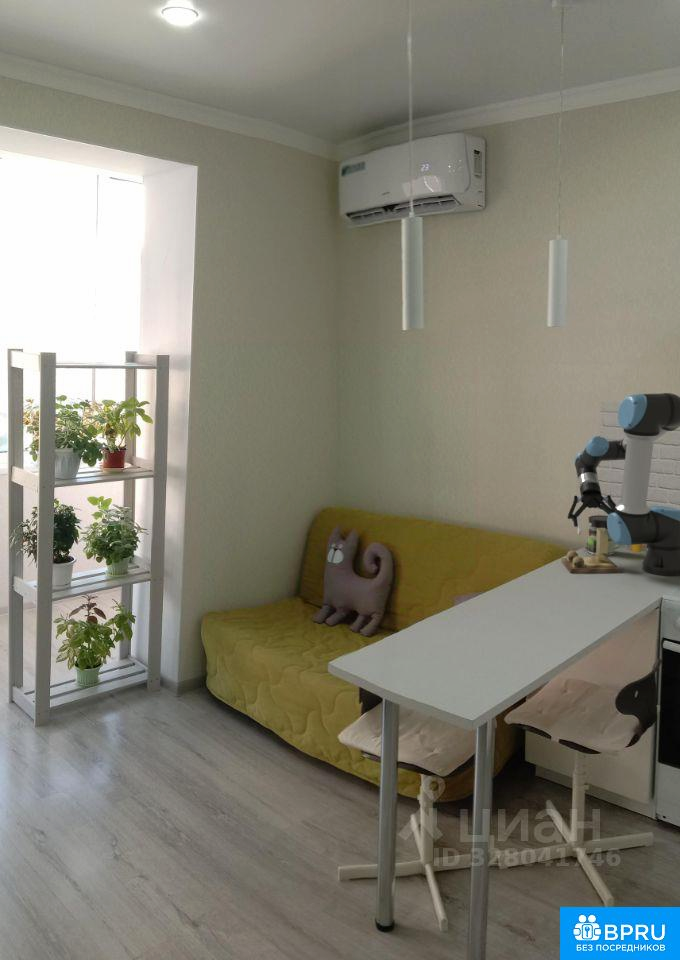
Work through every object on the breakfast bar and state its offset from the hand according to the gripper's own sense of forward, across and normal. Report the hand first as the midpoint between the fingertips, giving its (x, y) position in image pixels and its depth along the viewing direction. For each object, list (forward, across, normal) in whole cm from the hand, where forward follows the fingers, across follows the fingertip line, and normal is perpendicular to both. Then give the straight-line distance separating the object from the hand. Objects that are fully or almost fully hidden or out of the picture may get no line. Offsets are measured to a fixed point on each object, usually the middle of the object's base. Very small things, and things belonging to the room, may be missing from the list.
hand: (598, 533), depth 303 cm
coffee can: (-5, -6, -22) cm, 24 cm away
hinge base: (+11, +4, -6) cm, 13 cm away
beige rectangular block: (+10, 0, -4) cm, 10 cm away
